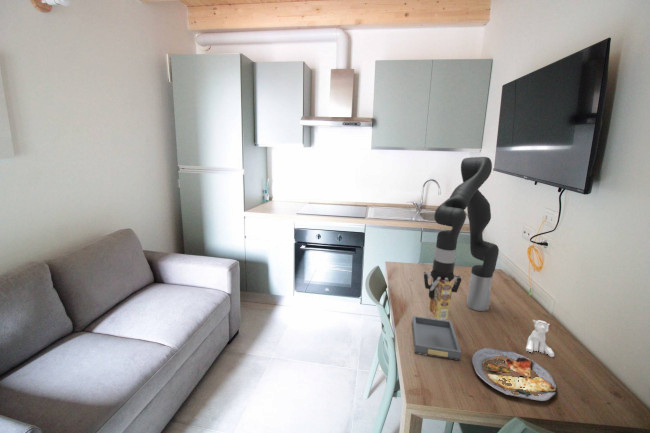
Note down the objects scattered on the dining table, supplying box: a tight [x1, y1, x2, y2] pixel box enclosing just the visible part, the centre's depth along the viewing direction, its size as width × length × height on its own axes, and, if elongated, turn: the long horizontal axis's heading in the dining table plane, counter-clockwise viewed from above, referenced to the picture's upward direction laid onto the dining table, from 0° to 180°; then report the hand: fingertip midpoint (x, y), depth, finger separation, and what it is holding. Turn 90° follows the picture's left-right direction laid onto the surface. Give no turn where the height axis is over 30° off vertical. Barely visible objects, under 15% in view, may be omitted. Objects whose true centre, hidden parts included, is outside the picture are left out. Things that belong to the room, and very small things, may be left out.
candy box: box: [427, 277, 453, 321], centre depth 120 cm, size 9×4×15 cm, turn 8°
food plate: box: [471, 347, 558, 402], centre depth 106 cm, size 25×23×4 cm
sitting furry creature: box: [525, 319, 555, 358], centre depth 120 cm, size 10×9×12 cm
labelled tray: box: [411, 315, 462, 361], centre depth 124 cm, size 16×21×4 cm
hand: (439, 299), depth 120 cm, fingers closed on candy box, 5 cm apart
